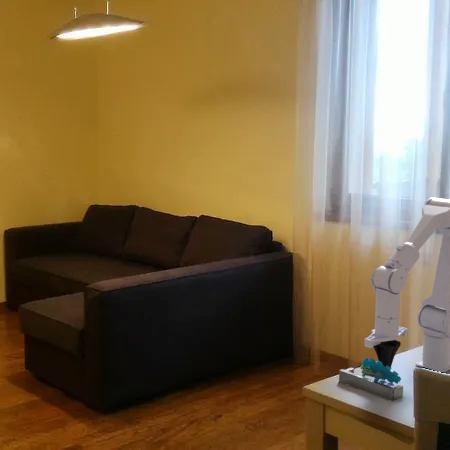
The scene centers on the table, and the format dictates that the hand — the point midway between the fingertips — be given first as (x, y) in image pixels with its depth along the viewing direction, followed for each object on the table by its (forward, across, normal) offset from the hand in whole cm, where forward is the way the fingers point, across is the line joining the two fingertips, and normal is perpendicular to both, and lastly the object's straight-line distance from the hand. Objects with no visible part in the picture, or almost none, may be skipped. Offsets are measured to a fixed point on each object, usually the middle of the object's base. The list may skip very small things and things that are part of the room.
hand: (385, 369), depth 167 cm
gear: (+4, +2, 0) cm, 4 cm away
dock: (+3, +6, 0) cm, 6 cm away
